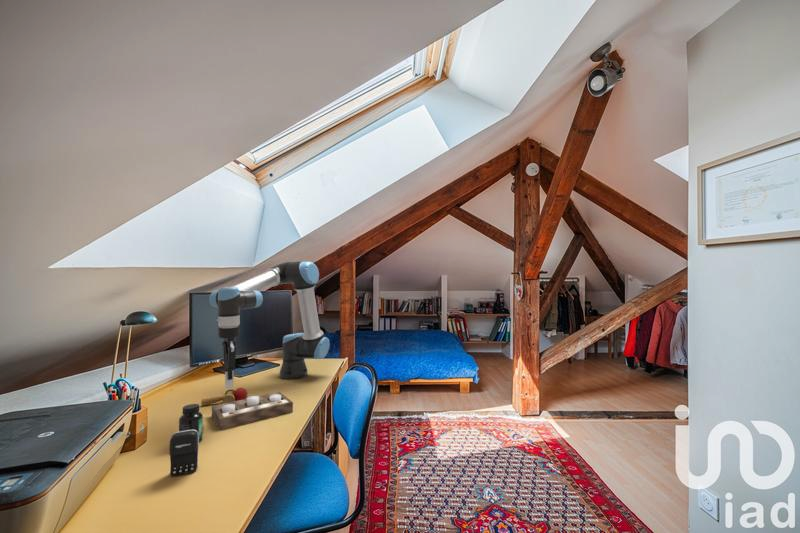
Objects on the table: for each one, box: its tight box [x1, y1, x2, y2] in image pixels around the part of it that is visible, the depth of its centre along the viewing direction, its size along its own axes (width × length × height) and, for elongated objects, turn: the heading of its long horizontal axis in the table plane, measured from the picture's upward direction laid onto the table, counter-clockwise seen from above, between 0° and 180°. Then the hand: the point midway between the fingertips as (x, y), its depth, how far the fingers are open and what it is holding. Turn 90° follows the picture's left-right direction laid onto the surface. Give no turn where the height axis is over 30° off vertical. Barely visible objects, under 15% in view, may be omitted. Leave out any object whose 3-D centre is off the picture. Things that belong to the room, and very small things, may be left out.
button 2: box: [270, 394, 281, 402], centre depth 146 cm, size 5×5×4 cm
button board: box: [211, 391, 294, 431], centre depth 140 cm, size 27×16×4 cm, turn 128°
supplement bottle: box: [178, 403, 204, 443], centre depth 117 cm, size 7×7×12 cm
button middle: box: [246, 395, 260, 408], centre depth 140 cm, size 5×5×4 cm
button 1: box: [222, 404, 235, 413], centre depth 135 cm, size 5×5×4 cm
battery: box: [168, 429, 199, 477], centre depth 98 cm, size 7×4×11 cm, turn 114°
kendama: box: [200, 387, 248, 407], centre depth 152 cm, size 8×6×18 cm
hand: (229, 387), depth 135 cm, fingers closed
